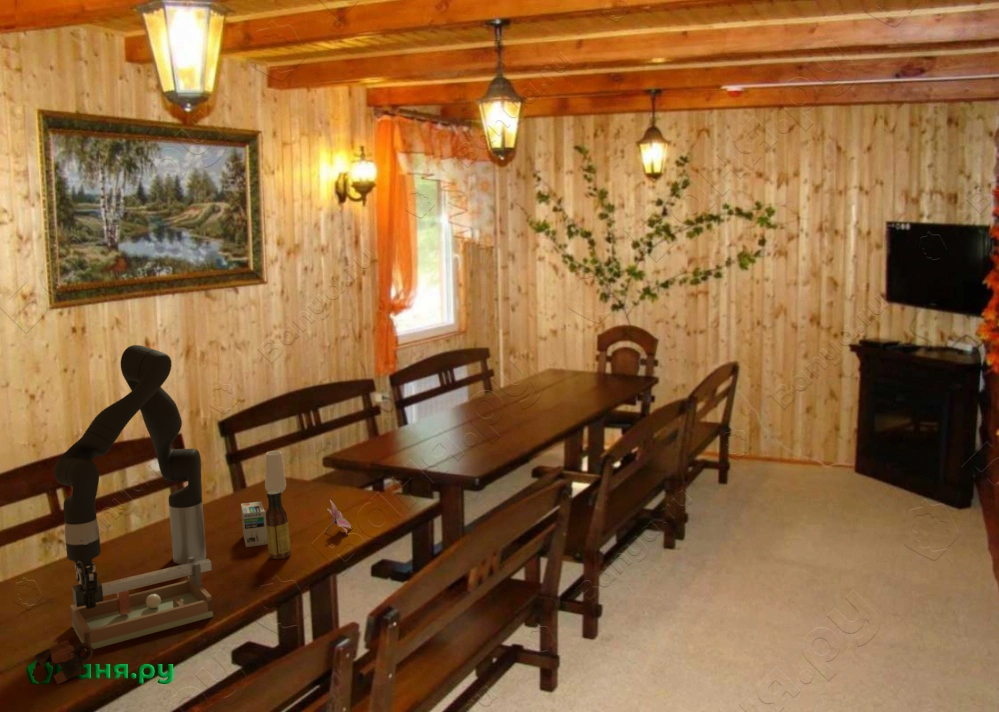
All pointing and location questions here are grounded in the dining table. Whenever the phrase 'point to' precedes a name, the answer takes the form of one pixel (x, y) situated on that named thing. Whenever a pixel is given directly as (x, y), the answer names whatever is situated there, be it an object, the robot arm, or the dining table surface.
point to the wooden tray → (144, 612)
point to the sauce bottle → (277, 527)
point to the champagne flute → (274, 472)
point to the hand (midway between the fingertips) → (88, 604)
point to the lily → (338, 518)
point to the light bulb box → (254, 524)
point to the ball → (153, 601)
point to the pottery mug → (65, 659)
